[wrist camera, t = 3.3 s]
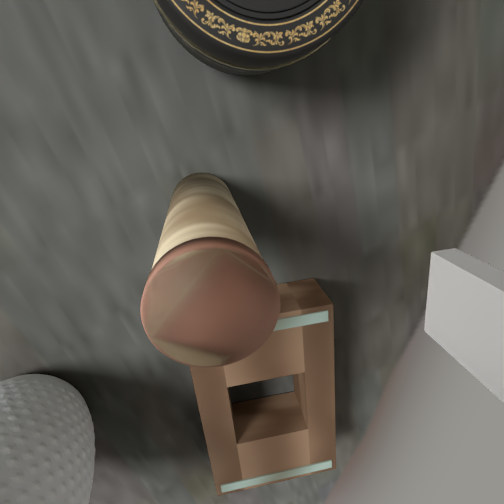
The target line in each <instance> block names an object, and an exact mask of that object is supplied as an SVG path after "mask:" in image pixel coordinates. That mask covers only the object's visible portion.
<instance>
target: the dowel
mask: <svg viewBox="0 0 504 504" xmlns="http://www.w3.org/2000/svg"><path fill="white" fill-rule="evenodd" d="M279 313H280V294H279V290H278V287H277V284H276V282H275V280H274V278H273V276H272V274H271V272H270V270H269V268H268V266H267V264H266V263H265V261H264V260H263V259H262V257H261V255H260V252H259V250H258V248H257V246H256V244H255V242H254V240H253V238H252V236H251V234H250V232H249V230H248V228H247V226H246V224H245V221H244V219H243V217H242V215H241V213H240V211H239V209H238V207H237V205H236V203H235V201H234V199H233V197H232V195H231V193H230V190H229V188H228V187H227V185H226V184H225V183H224V182H223V181H222V180H221V179H220V178H218V177H216V176H214V175H212V174H209V173H195V174H191V175H189V176H187V177H185V178H184V179H182V180H181V181H180V182H179V183H178V185H177V186H176V188H175V190H174V192H173V196H172V199H171V203H170V206H169V210H168V213H167V217H166V220H165V224H164V228H163V231H162V235H161V238H160V242H159V245H158V249H157V252H156V256H155V260H154V263H153V267H152V270H151V272H150V274H149V276H148V278H147V282H146V285H145V289H144V292H143V296H142V299H141V319H142V324H143V327H144V330H145V332H146V334H147V336H148V338H149V339H150V340H151V342H152V343H153V344H154V345H155V347H156V348H157V349H158V350H159V351H161V352H162V353H163V354H165V355H166V356H168V357H169V358H171V359H173V360H175V361H177V362H180V363H182V364H186V365H189V366H195V367H205V368H207V367H219V366H225V365H229V364H232V363H235V362H238V361H240V360H242V359H244V358H246V357H248V356H249V355H251V354H252V353H254V352H255V351H256V350H258V349H259V348H260V347H261V346H262V345H263V344H264V343H265V342H266V341H267V339H268V338H269V337H270V335H271V334H272V332H273V330H274V328H275V326H276V324H277V321H278V318H279Z"/></svg>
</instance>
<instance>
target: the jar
mask: <svg viewBox="0 0 504 504" xmlns="http://www.w3.org/2000/svg"><path fill="white" fill-rule="evenodd" d="M153 1H154V3H155V5H156V7H157V10H158V12H159V14H160V16H161V17H162V19H163V21H164V23H165V24H166V26H167V28H168V29H169V30H170V32H171V33H172V35H173V36H174V37H175V38H176V40H177V41H178V42H179V43H180V44H181V45H182V46H183V47H184V48H185V49H186V50H187V51H188V52H189V53H190V54H191V55H193V56H194V57H195V58H197V59H198V60H200V61H201V62H203V63H204V64H206V65H208V66H210V67H212V68H214V69H217V70H219V71H222V72H226V73H229V74H235V75H259V74H264V73H268V72H271V71H274V70H277V69H279V68H281V67H284V66H288V65H291V64H293V63H295V62H298V61H300V60H302V59H304V58H305V57H307V56H309V55H310V54H312V53H314V52H315V51H317V50H318V49H319V48H320V47H321V46H323V45H324V44H325V43H326V42H328V41H329V39H330V38H331V37H333V36H334V35H335V34H336V33H337V32H338V31H339V30H340V29H341V28H342V27H343V26H344V25H345V24H346V23H347V22H348V21H349V19H350V18H351V17H352V16H353V14H354V13H355V12H356V10H357V9H358V8H359V6H360V5H361V3H362V2H363V0H153Z"/></svg>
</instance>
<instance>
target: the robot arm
mask: <svg viewBox="0 0 504 504" xmlns="http://www.w3.org/2000/svg"><path fill="white" fill-rule="evenodd" d="M424 331H425V332H426V333H427V334H428V335H429V336H431V337H432V338H433V339H434V340H435V341H436V342H437V343H438V344H439V345H440V346H441V347H443V348H444V349H445V350H446V351H447V352H448V353H449V354H450V355H451V356H452V357H454V358H455V359H456V360H457V361H458V362H459V363H460V364H461V365H462V366H463V367H465V368H466V369H467V370H468V371H469V372H470V373H471V374H472V375H473V376H474V377H476V378H477V379H478V380H479V381H480V382H481V383H482V384H483V385H484V386H485V387H486V388H488V389H489V390H490V391H491V392H492V393H493V394H494V395H495V396H496V397H497V398H499V399H500V400H501V401H502V402H503V403H504V271H502V270H500V269H498V268H496V267H494V266H492V265H489V264H487V263H485V262H483V261H481V260H479V259H477V258H474V257H473V256H471V255H469V254H466V253H464V252H462V251H460V250H458V249H456V248H453V249H447V250H441V251H434V252H431V261H430V272H429V283H428V294H427V305H426V316H425V328H424Z"/></svg>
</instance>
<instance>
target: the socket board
mask: <svg viewBox="0 0 504 504" xmlns="http://www.w3.org/2000/svg"><path fill="white" fill-rule="evenodd" d="M277 287H278V290H279V294H280V313H279V318H278V321H277V324H276V326H275V328H274V330H273V332H272V334H271V335H270V337H269V338H268V339H267V341H266V342H265V343H264V344H263V345H262V346H261V347H260V348H259V349H258V350H256V351H255V352H254V353H252V354H251V355H249V356H248V357H246V358H244V359H242V360H240V361H238V362H235V363H232V364H229V365H225V366H219V367H207V368H205V367H195V366H190V371H191V375H192V380H193V384H194V389H195V394H196V398H197V403H198V407H199V412H200V417H201V421H202V426H203V431H204V435H205V440H206V444H207V449H208V454H209V458H210V463H211V467H212V472H213V477H214V481H215V486H216V491H217V495H218V496H219V495H224V494H228V493H232V492H237V491H241V490H245V489H250V488H254V487H258V486H263V485H267V484H272V483H276V482H280V481H285V480H289V479H293V478H298V477H302V476H306V475H311V474H315V473H319V472H324V471H328V470H332V469H336V434H335V374H334V314H333V303H332V301H331V300H330V299H329V297H328V296H327V295H326V293H325V292H324V291H323V289H322V288H321V287H320V285H319V284H318V283H317V281H316V280H315V279H314V278H311V279H305V280H299V281H293V282H287V283H281V284H277ZM288 375H293V380H294V391H293V392H288V393H283V394H278V395H273V396H268V397H263V398H259V399H254V400H249V401H244V402H239V403H234V404H231V398H230V392H229V387H232V386H237V385H242V384H247V383H252V382H257V381H262V380H267V379H272V378H277V377H282V376H288Z"/></svg>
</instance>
